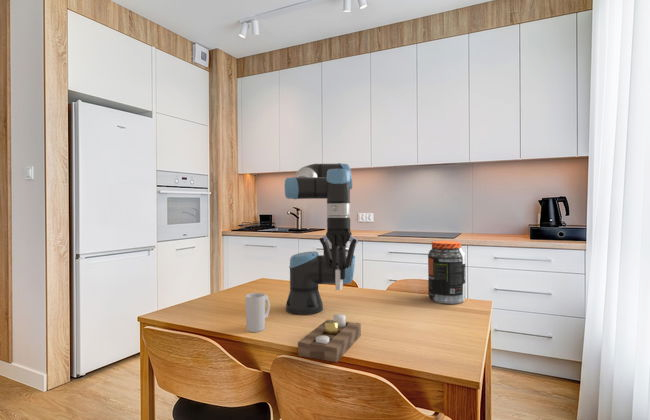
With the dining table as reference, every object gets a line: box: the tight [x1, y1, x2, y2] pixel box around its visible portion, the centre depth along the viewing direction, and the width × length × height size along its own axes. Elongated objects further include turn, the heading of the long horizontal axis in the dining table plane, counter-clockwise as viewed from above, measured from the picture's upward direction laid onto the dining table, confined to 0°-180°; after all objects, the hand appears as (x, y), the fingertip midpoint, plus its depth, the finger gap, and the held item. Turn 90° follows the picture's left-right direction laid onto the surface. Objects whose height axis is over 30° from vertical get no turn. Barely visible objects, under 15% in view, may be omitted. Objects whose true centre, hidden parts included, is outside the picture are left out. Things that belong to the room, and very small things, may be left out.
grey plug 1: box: [316, 335, 329, 344], centre depth 111 cm, size 4×4×4 cm
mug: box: [245, 292, 271, 333], centre depth 134 cm, size 10×7×12 cm, turn 142°
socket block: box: [297, 318, 362, 363], centre depth 118 cm, size 22×12×4 cm, turn 157°
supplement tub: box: [427, 240, 467, 305], centre depth 168 cm, size 16×16×26 cm
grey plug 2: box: [332, 313, 347, 328], centre depth 124 cm, size 4×4×4 cm
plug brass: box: [324, 320, 338, 336], centre depth 118 cm, size 4×4×4 cm
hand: (339, 289), depth 124 cm, fingers closed
